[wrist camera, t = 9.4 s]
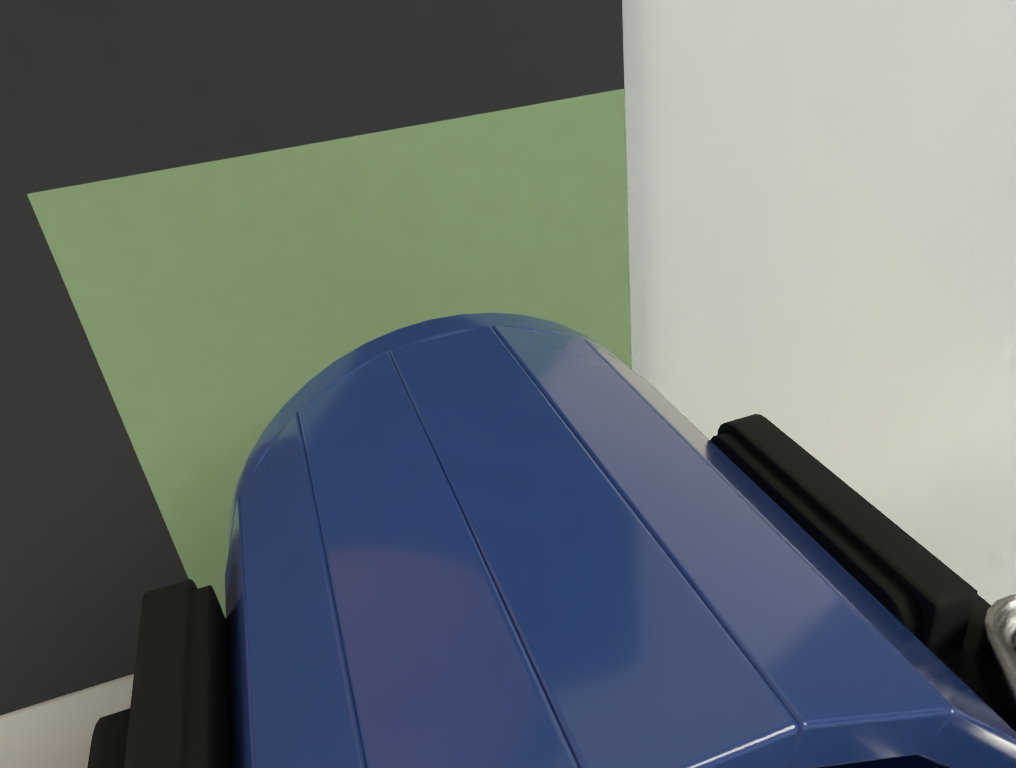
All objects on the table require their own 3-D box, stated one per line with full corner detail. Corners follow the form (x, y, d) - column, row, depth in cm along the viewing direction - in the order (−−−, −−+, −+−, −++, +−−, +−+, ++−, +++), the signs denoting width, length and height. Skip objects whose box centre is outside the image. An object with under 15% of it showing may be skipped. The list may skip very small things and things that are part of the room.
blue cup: (294, 733, 13) (360, 1349, 7) (160, 380, 10) (82, 1015, 4) (661, 606, 15) (959, 1030, 9) (660, 263, 11) (1148, 588, 5)
